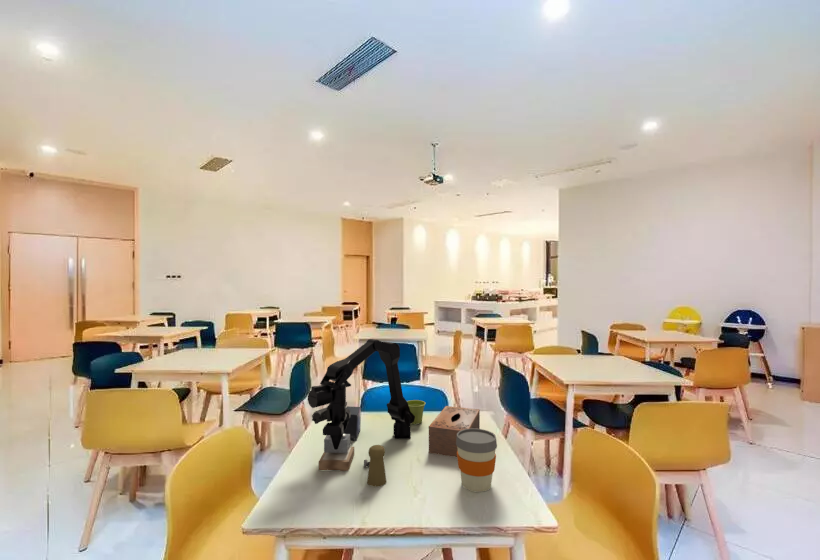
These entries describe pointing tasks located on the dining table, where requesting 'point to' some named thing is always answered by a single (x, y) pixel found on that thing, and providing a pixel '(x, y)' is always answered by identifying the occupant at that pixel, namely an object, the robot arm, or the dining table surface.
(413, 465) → the dining table surface
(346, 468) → the picture frame
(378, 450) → the cork
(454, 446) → the tissue box cover
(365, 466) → the loose bolt
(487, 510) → the dining table surface
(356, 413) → the small box
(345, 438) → the housing
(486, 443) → the reusable coffee cup
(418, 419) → the plant pot
